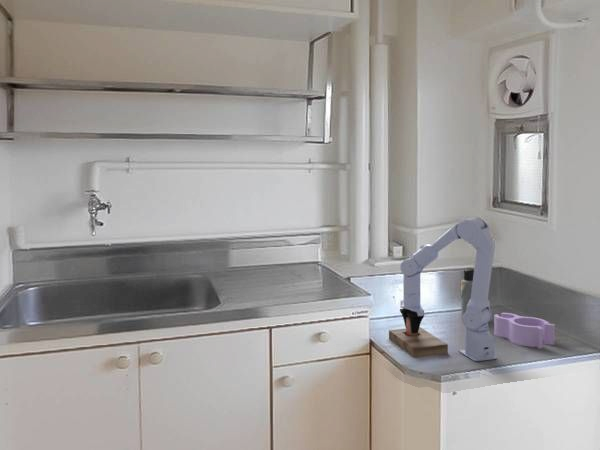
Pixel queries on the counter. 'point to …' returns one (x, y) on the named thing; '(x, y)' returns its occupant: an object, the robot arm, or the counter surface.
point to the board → (418, 343)
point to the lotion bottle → (466, 289)
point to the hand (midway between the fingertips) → (411, 331)
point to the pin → (409, 328)
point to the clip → (524, 330)
